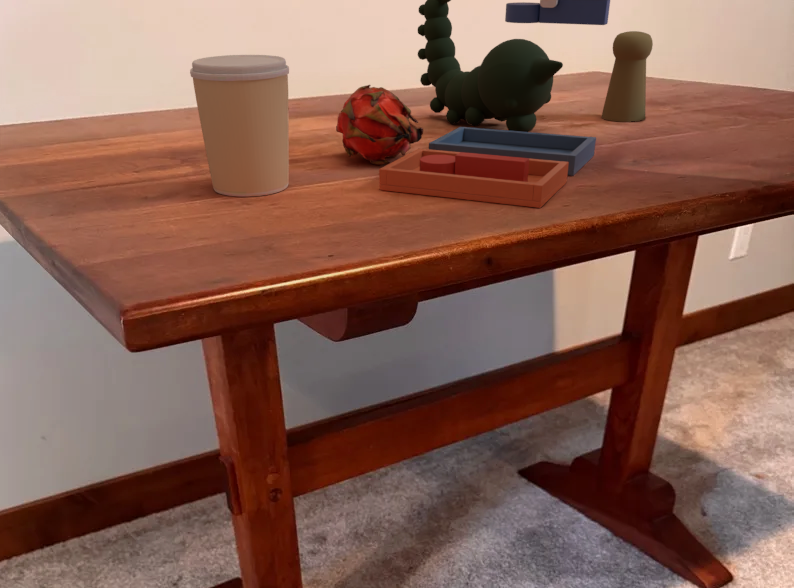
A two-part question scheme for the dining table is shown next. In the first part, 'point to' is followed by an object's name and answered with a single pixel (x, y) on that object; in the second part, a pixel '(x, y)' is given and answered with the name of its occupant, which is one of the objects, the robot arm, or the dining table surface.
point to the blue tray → (519, 145)
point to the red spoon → (478, 166)
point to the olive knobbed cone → (628, 78)
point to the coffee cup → (244, 122)
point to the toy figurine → (485, 76)
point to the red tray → (474, 181)
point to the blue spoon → (560, 12)
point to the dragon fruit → (376, 125)
